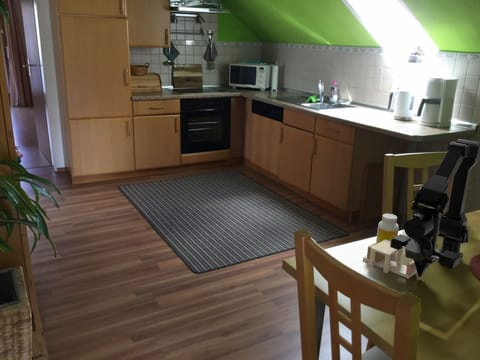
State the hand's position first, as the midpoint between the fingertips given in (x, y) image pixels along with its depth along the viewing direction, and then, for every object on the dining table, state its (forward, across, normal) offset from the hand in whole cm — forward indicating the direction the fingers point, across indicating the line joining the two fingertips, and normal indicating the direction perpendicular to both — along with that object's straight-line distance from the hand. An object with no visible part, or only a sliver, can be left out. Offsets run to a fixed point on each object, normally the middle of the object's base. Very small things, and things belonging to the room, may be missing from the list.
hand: (420, 276), depth 131 cm
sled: (+1, -10, 0) cm, 10 cm away
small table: (+2, -7, 0) cm, 8 cm away
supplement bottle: (+2, -17, +11) cm, 21 cm away
